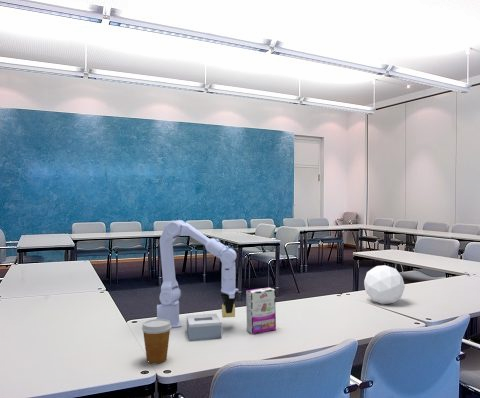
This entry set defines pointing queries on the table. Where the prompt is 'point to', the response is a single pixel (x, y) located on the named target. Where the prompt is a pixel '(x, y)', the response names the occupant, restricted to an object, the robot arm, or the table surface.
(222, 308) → the block
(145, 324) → the disposable coffee cup
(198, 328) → the coin box
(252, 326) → the candy bar box
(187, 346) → the table surface
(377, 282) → the polyhedron
